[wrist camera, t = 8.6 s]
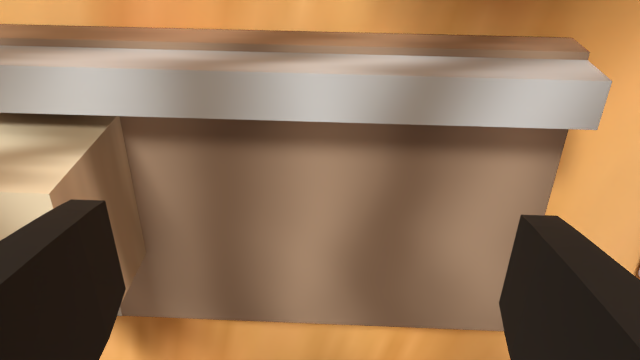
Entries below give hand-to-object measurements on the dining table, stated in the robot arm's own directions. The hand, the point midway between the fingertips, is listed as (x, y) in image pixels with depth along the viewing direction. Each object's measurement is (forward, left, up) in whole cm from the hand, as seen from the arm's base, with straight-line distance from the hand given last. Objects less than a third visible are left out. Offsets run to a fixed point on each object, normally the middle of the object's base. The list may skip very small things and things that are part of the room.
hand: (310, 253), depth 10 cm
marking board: (+3, +5, -10) cm, 12 cm away
